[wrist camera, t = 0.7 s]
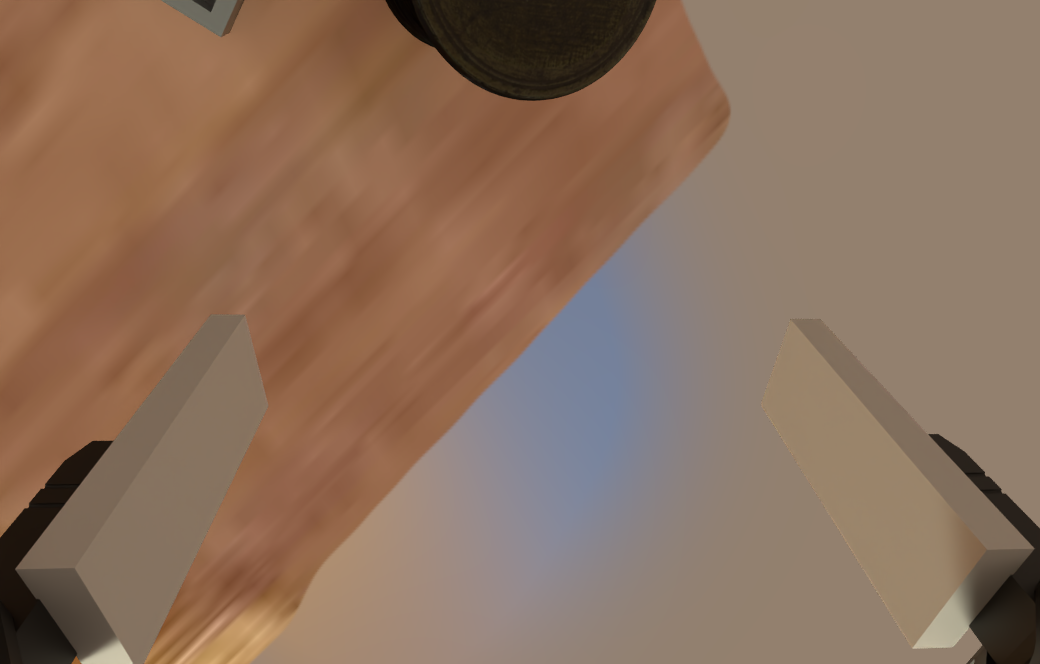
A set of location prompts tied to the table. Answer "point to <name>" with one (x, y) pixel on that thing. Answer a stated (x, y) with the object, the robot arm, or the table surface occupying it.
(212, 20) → the tray
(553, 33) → the container
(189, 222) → the table surface
